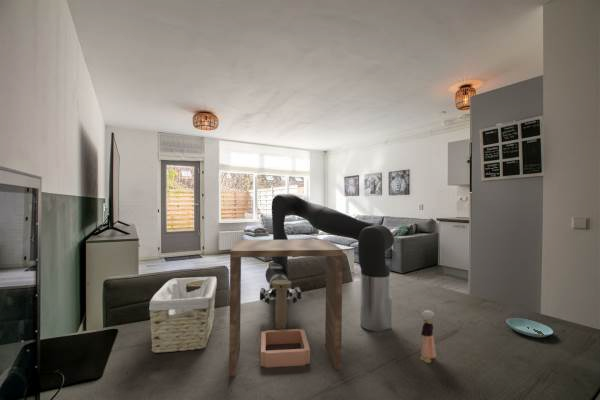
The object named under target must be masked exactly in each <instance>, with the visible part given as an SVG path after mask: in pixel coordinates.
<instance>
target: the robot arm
mask: <svg viewBox="0 0 600 400" xmlns="http://www.w3.org/2000/svg"><path fill="white" fill-rule="evenodd" d="M288 216H290V217H291V216H296V217H299V218H302V219H305V220H306V221H307V222H308V223H309V225H311V226H312V228H314V229H316V230H318V231H320V232H323V233H325V234H328V235H331V236H337V237H340V238H341V237H342V238H347V239H353V240H356V241H357V242H358V245H357V247H358V248H357V249H358V251H357V252H358V254H357V255H358V265H359V267H360V320H359V322H360V324H359V325H360V326H361V327H362V328H363V329H366V331H367V330H368V331H371V332H384V331H387V330H390V329H391V330H392V324H393V323H392V319H393V317H392V316H393V315H392V314H393V313H392V311H393V310H392V308H393V306H392V305H393V300H392V298H390V273H391V272H390V270H391V269H390V266H389V265H387V262H386V252H387V251H388V250H390V249H391V248H392V247H393V246H394V244H395V243H394V242H395V237H394V234H393V232H392V231H391V230H390V229H389V228H388V227H386V226H385V225H383V224H382V225H380V224H377V223H372V222H368V221H363V220H361V219H357V218H355V217H352V216H350V215H348V214H346V213H343V212H341V211H338V210H336V209H333V208H330V207H327V206H323V205H321V204H317V203H312V202H309V201H307V200H305V199H303V198H302V197H300V196H297V195H295V194H292V193H285V194H276V195H275V196H274V197H273V199H272V202H271V218H272V219H271V220H272V221H271V222H272V223H271V224H272V240H289V239H288V236H287V233H286V230H285V219H286V217H288ZM271 261H272V263H275V264H277V265H280V266H274V265H273V266H272V265H271V266H269V267H267V269H266V271H265V279H266V282H267V283H268V285H269V286H268V289H266V288H265V287H261V288H260V291H259V300H260V301H264V302H265V303H266V305H270V301H273V300H276V289H275V288H273V287H272V281H274V280H289V281H290V276H291V274H290V269H289V264H288V263H289V262H288V261H289V260H288V257H271ZM301 299H302V290H301V289H300V287H299V286H296V287H295V288H294V289H293V288H292V287H290V288H288V289H287V300H292V303H293V304H296V302H298V300H301Z"/></svg>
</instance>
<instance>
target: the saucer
mask: <svg viewBox="0 0 600 400" xmlns="http://www.w3.org/2000/svg"><path fill="white" fill-rule="evenodd" d="M505 321H506V324H507V325H508V326H509V327H510V328H511V329H513V330H514V331H515V332H517V333H519V334H521V335H523V334H524V336H526V335H527V337H530V336H531V337H530V338H546V337H548V336H550V335H553V333H554V330H553V328H551V327H549V326H547V325H545V324H543V323H540V322H537V321H534V320H530V319H526V318H521V317H520V318H519V317H511V318H507V319H506V320H505ZM527 327H529V329H528V328H527ZM533 329H535V330H538V331H541V332H542V333H543V334H544V335H542V334H538V333H537V332H535V331H534V330H533Z"/></svg>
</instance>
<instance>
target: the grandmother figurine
mask: <svg viewBox="0 0 600 400" xmlns="http://www.w3.org/2000/svg"><path fill="white" fill-rule="evenodd" d="M420 316H421V318H422V319H423V321H424V324H423V325H422V330H421V334H420V339H419V341H420V343H421V344H422V345H421V356H420V357H419V358H420V360H421V361H423V362H425V363H428V364H430V363H432V360H434V359H435V358H436V357H437V352H436V346H435V339H434V325H433V323H434V321H435V313H434V312H433V311H432V310H430V309H425V310H423V311H422V313H421V314H420Z"/></svg>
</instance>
